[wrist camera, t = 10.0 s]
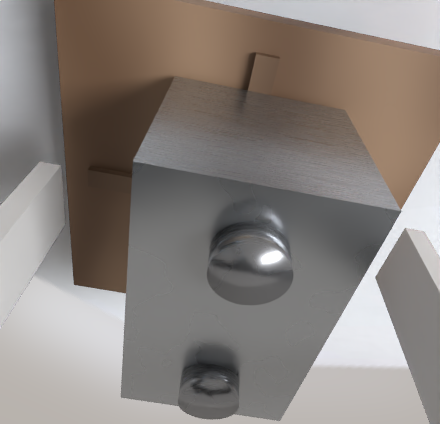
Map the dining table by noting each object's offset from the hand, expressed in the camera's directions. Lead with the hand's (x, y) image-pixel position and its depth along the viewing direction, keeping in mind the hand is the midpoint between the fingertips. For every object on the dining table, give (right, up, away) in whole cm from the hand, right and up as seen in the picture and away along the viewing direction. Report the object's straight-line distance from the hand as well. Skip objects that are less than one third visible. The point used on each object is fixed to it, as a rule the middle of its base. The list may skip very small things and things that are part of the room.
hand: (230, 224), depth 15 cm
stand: (0, +3, +4) cm, 5 cm away
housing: (0, +1, +1) cm, 1 cm away
